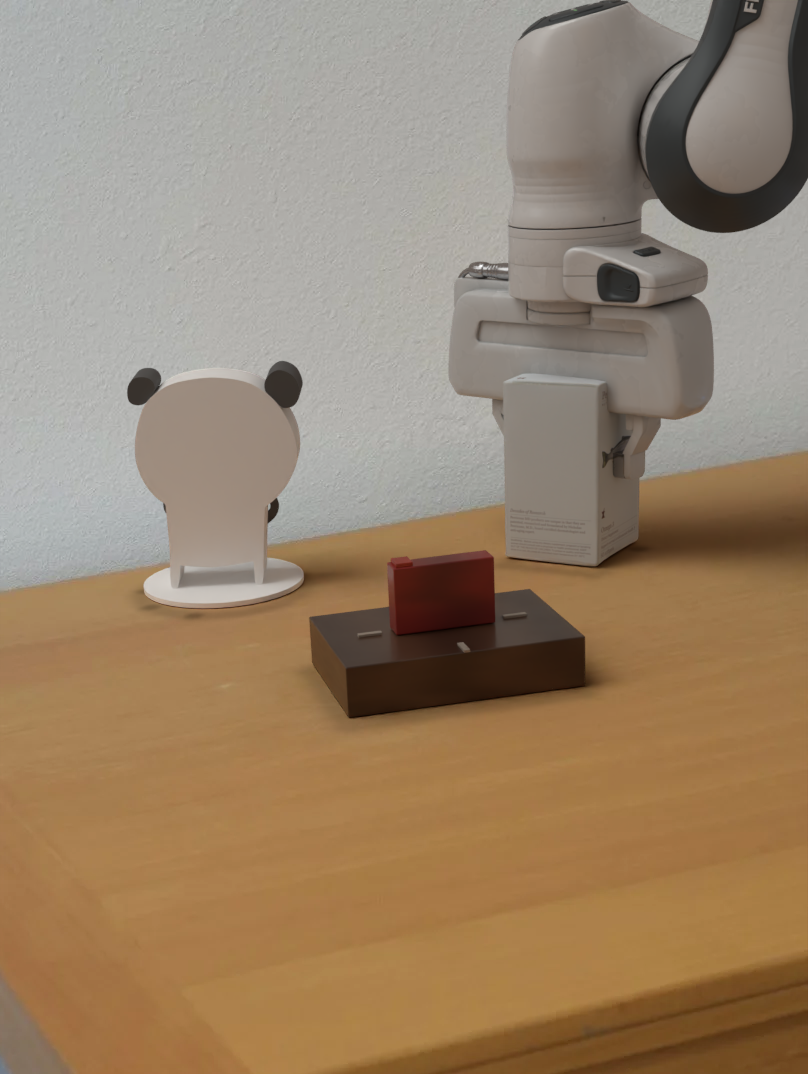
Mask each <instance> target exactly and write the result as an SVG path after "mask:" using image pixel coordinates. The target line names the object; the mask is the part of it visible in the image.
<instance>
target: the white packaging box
mask: <svg viewBox="0 0 808 1074" xmlns="http://www.w3.org/2000/svg"><path fill="white" fill-rule="evenodd" d="M503 411H504V436H503V467H504V468H503V470H504V471H503V474H504V533H505V535H504V536H505V537H504V539H505V540H504V541H505V554H504V555H505V557H507V558H512V559H513V558H514V559H522V560H531V561H539V562H549V563H556V564H566V565H576V566H583V567H597V566H599V565H600V564H601V563H603V562H604V561H605V560H607V559H608V558H609V557H611V556H613V555H614V554H616V553H617V552H619V551H621V550H622V549H624V548H626V547H628V546H629V545H631V544H634V543H635V542H636V541H638V540H639V533H640V532H639V531H640V478H641V477H640V478H637V479H634V480H629V479H622V478H616V477H614V476H613V468H614V464H613V453H615V452H618V451H622V450H623V449H625V447H626V445H627V443H628V441H629V439H630V437H631V435H632V433H633V430H632V431H630V430H627V429H626V414H619V413H610V412H608V410H607V383H606V382H605V381H601V380H595V379H587V378H578V377H568V376H558V375H548V374H521V375H519V376H516V377H514V378H511V379H509V380H507V381H504V382H503Z"/></svg>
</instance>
